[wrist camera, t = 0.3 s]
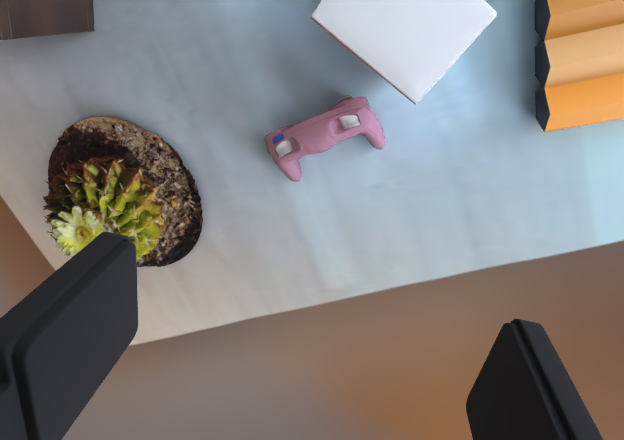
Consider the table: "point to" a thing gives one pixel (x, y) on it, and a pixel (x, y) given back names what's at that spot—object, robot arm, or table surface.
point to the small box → (406, 36)
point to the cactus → (122, 191)
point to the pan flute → (579, 62)
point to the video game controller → (323, 134)
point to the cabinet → (44, 17)
